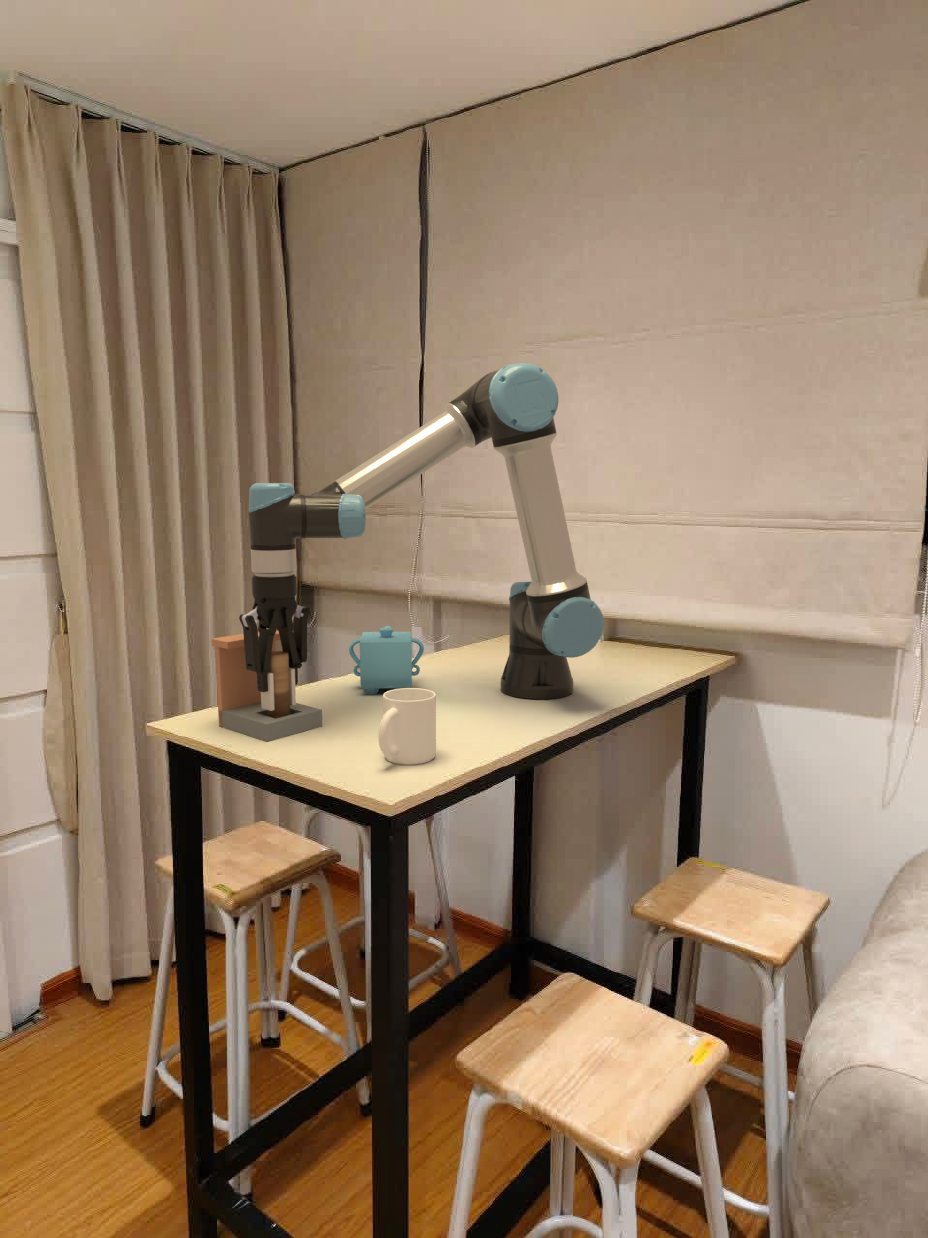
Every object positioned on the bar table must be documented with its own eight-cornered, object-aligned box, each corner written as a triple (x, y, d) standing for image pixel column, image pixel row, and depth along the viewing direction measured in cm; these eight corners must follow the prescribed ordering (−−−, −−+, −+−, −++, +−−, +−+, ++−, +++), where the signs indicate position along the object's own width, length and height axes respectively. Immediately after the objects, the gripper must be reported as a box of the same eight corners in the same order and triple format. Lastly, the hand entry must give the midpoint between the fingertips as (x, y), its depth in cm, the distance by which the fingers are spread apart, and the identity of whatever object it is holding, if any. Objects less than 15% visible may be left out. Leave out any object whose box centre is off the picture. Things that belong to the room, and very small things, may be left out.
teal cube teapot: (424, 695, 174) (424, 633, 172) (347, 696, 173) (346, 633, 171) (422, 675, 192) (422, 618, 190) (353, 676, 191) (351, 619, 189)
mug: (402, 776, 127) (401, 709, 125) (358, 766, 131) (357, 701, 129) (446, 754, 137) (445, 692, 135) (403, 746, 141) (403, 685, 139)
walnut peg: (295, 725, 151) (293, 653, 149) (276, 730, 148) (274, 656, 146) (281, 721, 153) (278, 650, 151) (262, 725, 150) (260, 653, 148)
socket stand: (323, 725, 153) (321, 638, 150) (265, 742, 143) (262, 649, 140) (273, 711, 162) (270, 629, 159) (215, 725, 152) (211, 638, 150)
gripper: (299, 568, 155) (303, 693, 159) (218, 576, 142) (224, 712, 146) (326, 571, 150) (329, 700, 154) (245, 580, 137) (251, 720, 141)
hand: (278, 706), depth 150 cm, fingers closed on walnut peg, 4 cm apart
